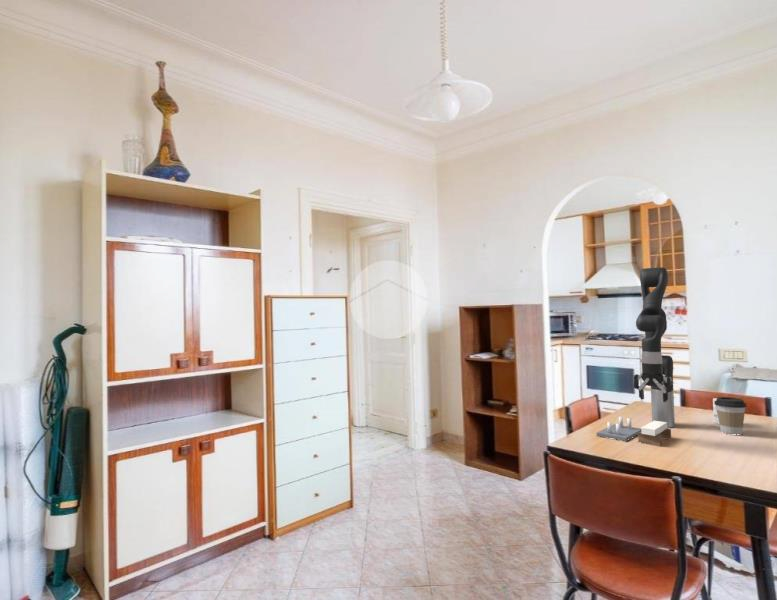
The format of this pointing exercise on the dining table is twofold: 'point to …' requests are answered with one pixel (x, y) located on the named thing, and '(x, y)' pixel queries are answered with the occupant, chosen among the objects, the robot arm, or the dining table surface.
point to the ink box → (715, 411)
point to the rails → (654, 437)
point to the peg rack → (619, 430)
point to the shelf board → (654, 428)
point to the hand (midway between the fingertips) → (653, 400)
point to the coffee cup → (730, 414)
